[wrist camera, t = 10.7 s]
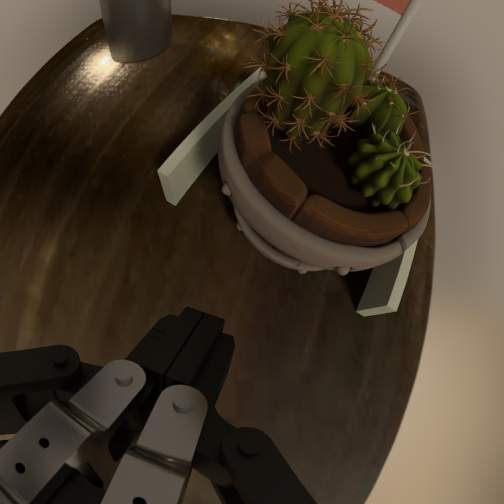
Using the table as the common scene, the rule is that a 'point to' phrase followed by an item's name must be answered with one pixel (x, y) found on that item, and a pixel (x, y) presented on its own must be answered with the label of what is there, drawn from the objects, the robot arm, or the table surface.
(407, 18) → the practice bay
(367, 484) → the table surface
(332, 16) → the flowerpot
